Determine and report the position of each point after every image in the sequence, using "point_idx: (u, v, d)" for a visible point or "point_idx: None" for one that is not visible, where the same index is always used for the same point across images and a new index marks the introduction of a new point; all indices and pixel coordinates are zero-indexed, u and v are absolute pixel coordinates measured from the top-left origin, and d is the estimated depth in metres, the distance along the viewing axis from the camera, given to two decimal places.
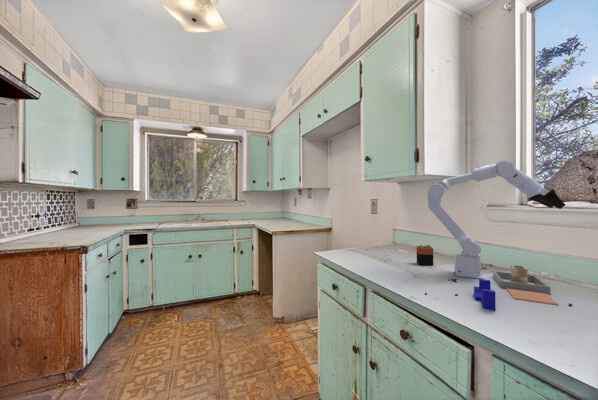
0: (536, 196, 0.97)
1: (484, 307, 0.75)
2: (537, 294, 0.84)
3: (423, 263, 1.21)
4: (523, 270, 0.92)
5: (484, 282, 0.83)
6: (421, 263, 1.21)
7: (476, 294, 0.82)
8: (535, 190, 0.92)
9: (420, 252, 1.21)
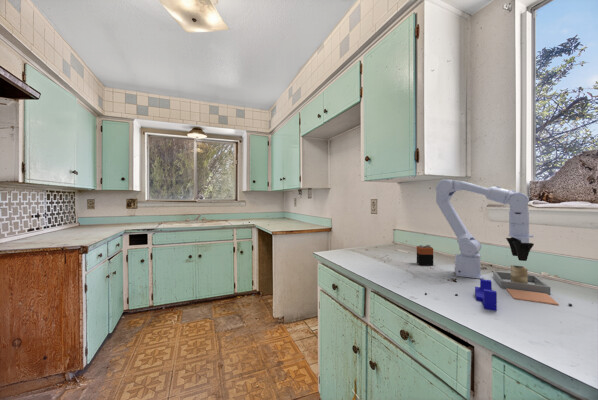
0: (514, 240, 0.97)
1: (485, 307, 0.75)
2: (537, 294, 0.84)
3: (423, 263, 1.21)
4: (523, 270, 0.92)
5: (486, 282, 0.83)
6: (421, 263, 1.21)
7: (477, 294, 0.82)
8: (520, 235, 0.91)
9: (420, 252, 1.21)
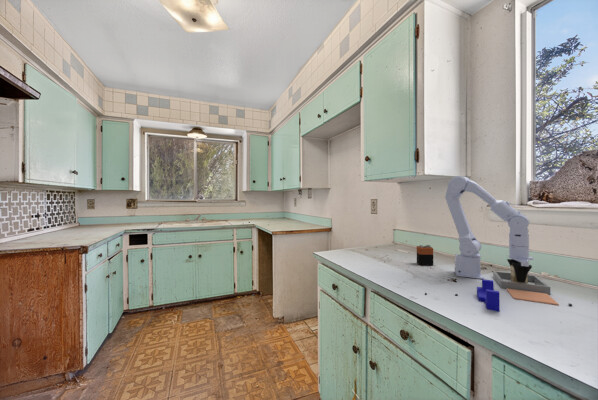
0: (515, 262, 0.96)
1: (488, 308, 0.75)
2: (537, 294, 0.84)
3: (423, 263, 1.21)
4: None
5: (488, 282, 0.83)
6: (421, 263, 1.21)
7: (479, 294, 0.82)
8: (519, 257, 0.92)
9: (420, 252, 1.21)
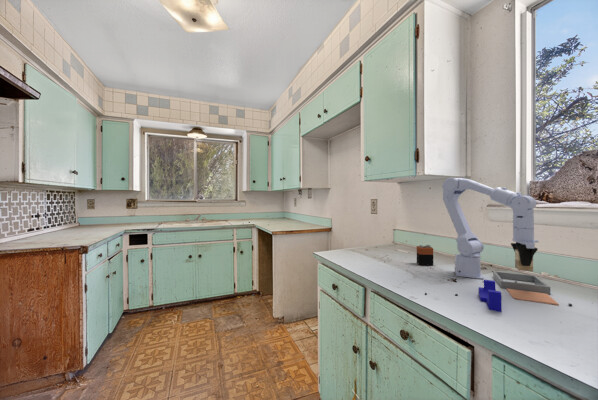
0: (519, 246, 0.92)
1: (490, 308, 0.75)
2: (537, 294, 0.84)
3: (423, 263, 1.21)
4: None
5: (489, 283, 0.83)
6: (421, 263, 1.21)
7: (481, 295, 0.82)
8: (524, 240, 0.87)
9: (420, 252, 1.21)
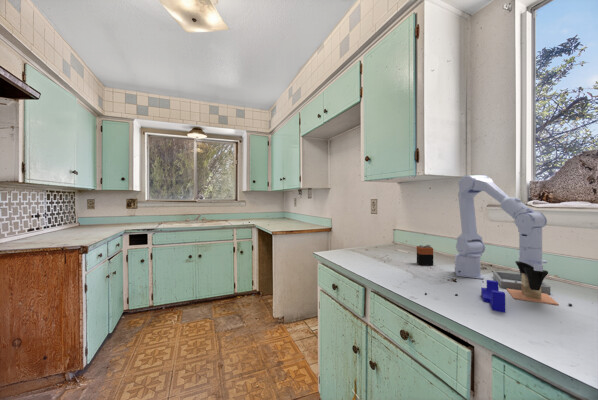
0: (524, 264, 0.86)
1: (494, 309, 0.74)
2: None
3: (423, 263, 1.21)
4: None
5: (492, 283, 0.82)
6: (421, 263, 1.21)
7: (484, 295, 0.81)
8: (532, 260, 0.81)
9: (420, 252, 1.21)
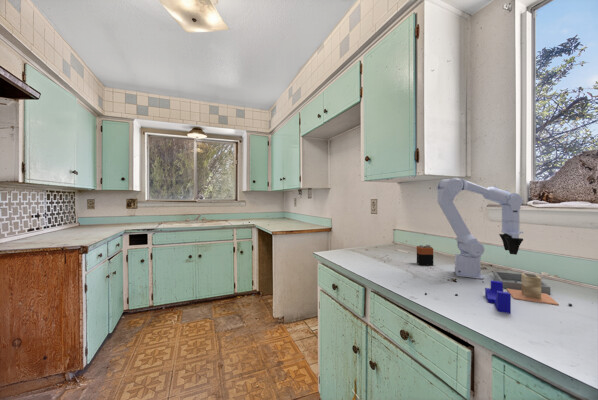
0: (506, 236, 1.07)
1: (499, 309, 0.74)
2: None
3: (423, 263, 1.21)
4: (536, 279, 0.81)
5: (497, 283, 0.82)
6: (421, 263, 1.21)
7: (488, 296, 0.81)
8: (511, 231, 1.01)
9: (420, 252, 1.21)
